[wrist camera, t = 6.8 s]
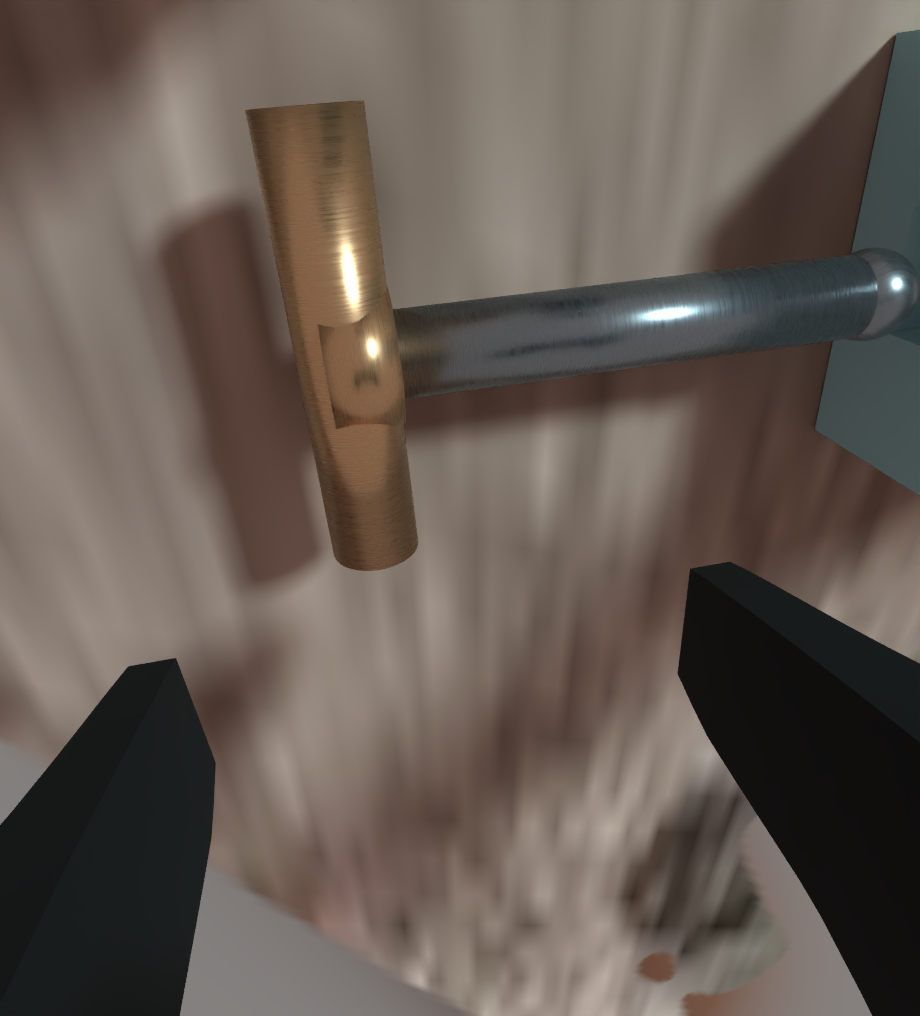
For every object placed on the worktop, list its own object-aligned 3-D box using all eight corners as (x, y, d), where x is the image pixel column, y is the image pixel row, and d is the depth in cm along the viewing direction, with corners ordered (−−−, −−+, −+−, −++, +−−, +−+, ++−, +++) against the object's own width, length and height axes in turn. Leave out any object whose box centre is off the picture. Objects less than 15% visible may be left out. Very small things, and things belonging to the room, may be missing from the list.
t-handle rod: (912, 56, 14) (1031, 44, 12) (827, 445, 19) (901, 493, 17) (251, 110, 13) (237, 109, 10) (332, 522, 17) (335, 587, 15)
